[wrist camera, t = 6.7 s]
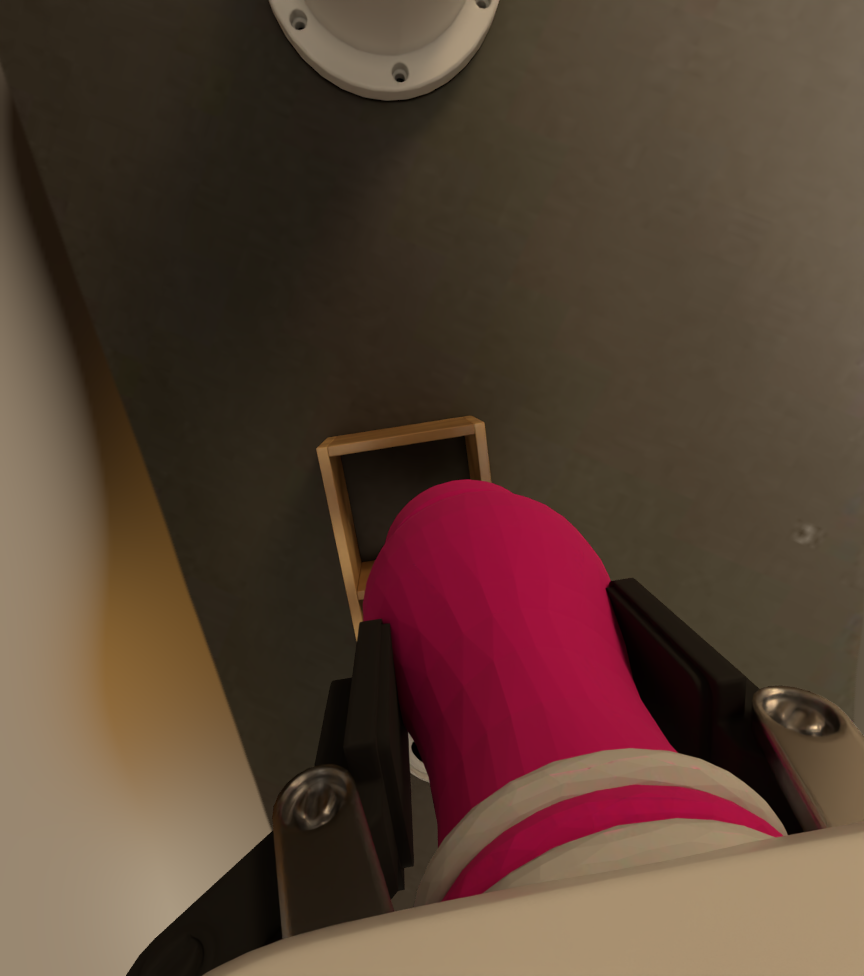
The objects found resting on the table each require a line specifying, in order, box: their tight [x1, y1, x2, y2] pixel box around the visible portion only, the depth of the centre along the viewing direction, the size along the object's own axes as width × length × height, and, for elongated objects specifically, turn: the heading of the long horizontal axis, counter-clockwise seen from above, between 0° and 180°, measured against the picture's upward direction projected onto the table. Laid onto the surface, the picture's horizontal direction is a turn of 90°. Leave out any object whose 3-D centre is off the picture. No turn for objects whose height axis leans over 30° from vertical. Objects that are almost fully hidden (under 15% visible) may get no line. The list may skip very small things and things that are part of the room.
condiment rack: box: [316, 415, 491, 641], centre depth 30 cm, size 18×9×4 cm, turn 8°
